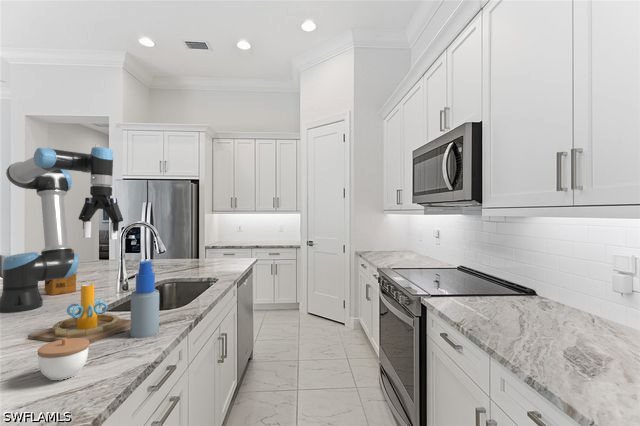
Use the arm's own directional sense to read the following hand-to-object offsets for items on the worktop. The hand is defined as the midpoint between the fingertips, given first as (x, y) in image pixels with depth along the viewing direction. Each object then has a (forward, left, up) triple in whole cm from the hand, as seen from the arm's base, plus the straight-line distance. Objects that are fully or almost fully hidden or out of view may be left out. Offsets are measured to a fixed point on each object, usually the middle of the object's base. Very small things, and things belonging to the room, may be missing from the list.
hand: (100, 238), depth 142 cm
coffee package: (-52, +27, -32) cm, 67 cm away
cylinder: (+12, -16, -30) cm, 36 cm away
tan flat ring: (+12, -16, -30) cm, 36 cm away
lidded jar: (+36, -44, -32) cm, 65 cm away
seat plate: (+12, -16, -31) cm, 37 cm away
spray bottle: (+33, -12, -32) cm, 47 cm away
